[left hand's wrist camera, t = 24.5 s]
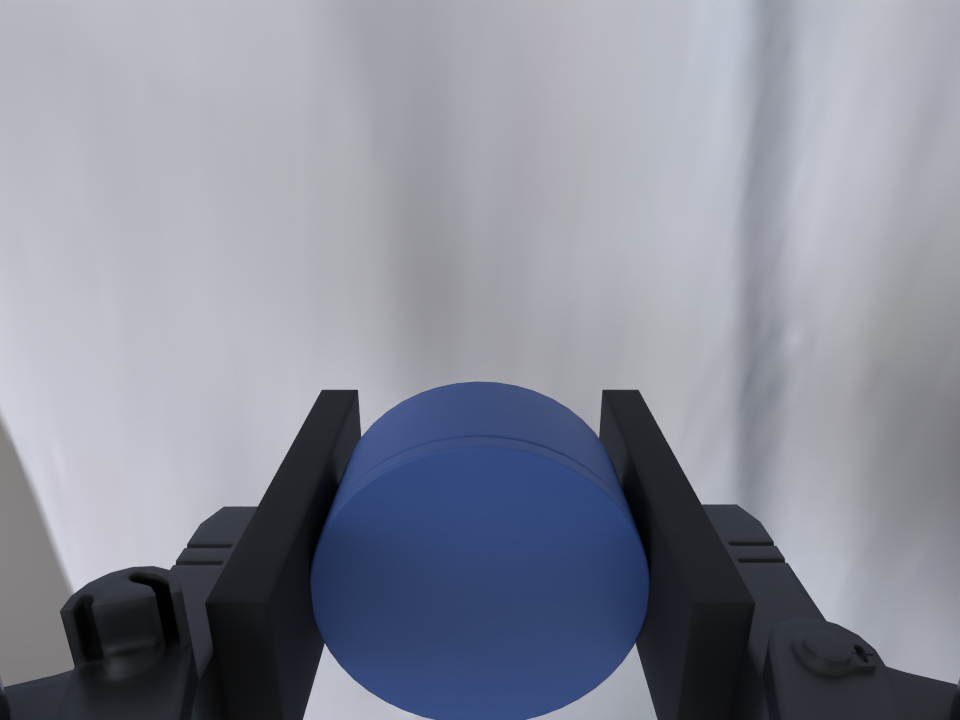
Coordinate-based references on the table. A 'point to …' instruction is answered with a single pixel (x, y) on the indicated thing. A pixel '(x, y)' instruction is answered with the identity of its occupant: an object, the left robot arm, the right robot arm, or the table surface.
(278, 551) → the left robot arm
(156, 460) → the table surface
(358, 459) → the lid
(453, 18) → the table surface
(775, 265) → the table surface
